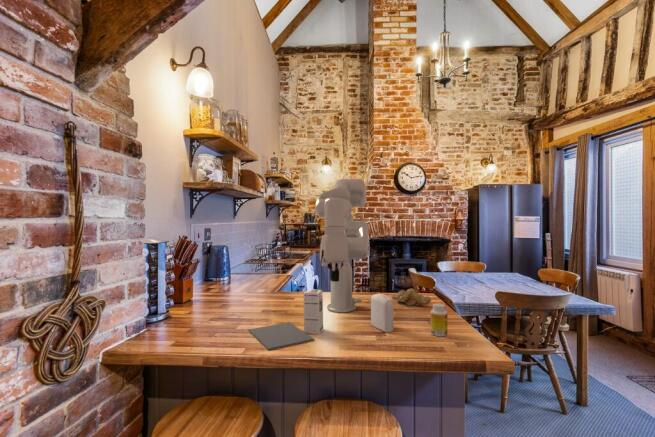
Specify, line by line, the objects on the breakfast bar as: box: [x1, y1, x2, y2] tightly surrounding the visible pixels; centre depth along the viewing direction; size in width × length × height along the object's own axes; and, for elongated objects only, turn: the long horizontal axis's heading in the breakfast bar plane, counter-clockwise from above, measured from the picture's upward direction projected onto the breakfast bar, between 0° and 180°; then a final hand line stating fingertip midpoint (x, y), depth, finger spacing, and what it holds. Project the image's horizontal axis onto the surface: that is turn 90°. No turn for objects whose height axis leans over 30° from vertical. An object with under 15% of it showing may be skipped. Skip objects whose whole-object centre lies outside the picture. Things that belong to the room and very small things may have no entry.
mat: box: [248, 321, 315, 351], centre depth 117 cm, size 16×20×1 cm
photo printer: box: [370, 293, 395, 333], centre depth 125 cm, size 10×4×12 cm, turn 26°
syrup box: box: [303, 288, 324, 335], centre depth 122 cm, size 6×6×14 cm
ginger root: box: [391, 287, 432, 307], centre depth 159 cm, size 16×16×8 cm
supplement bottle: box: [430, 303, 448, 337], centre depth 118 cm, size 6×6×10 cm
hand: (334, 281), depth 126 cm, fingers closed
